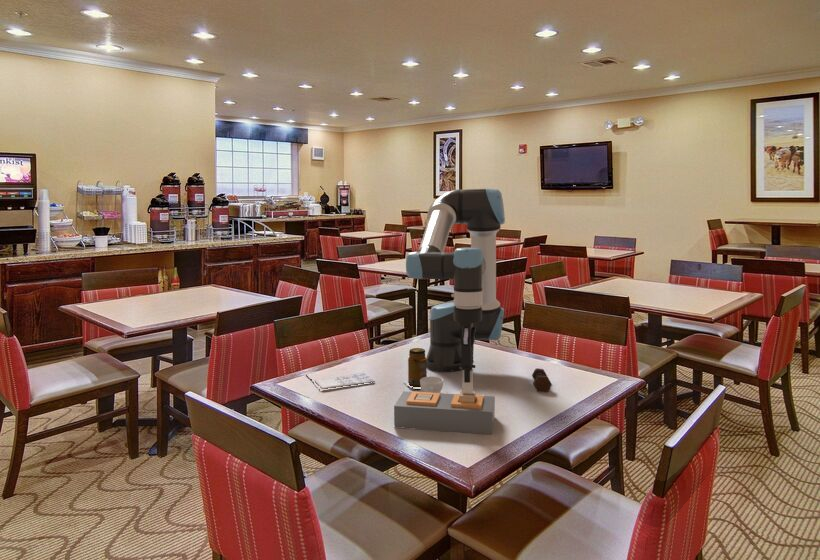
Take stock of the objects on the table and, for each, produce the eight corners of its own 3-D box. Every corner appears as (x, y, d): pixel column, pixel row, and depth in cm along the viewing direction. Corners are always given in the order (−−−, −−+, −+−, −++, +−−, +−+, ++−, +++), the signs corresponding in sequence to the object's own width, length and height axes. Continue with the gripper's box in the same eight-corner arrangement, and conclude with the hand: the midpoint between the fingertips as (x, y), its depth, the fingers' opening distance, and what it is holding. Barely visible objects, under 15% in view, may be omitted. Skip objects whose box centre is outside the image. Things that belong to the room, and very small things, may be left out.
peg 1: (418, 416, 155) (417, 394, 154) (432, 417, 154) (432, 394, 153) (415, 422, 151) (415, 399, 150) (429, 423, 150) (429, 399, 149)
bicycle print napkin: (320, 393, 177) (319, 387, 177) (305, 376, 195) (304, 370, 195) (375, 385, 185) (375, 379, 184) (356, 369, 203) (356, 363, 203)
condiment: (423, 380, 187) (423, 346, 186) (433, 388, 180) (432, 352, 178) (403, 383, 185) (402, 348, 183) (412, 391, 177) (411, 354, 176)
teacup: (416, 389, 179) (415, 375, 179) (446, 389, 179) (446, 375, 178) (415, 400, 169) (415, 385, 169) (448, 399, 169) (448, 385, 169)
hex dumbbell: (540, 383, 190) (544, 396, 175) (527, 375, 190) (530, 388, 175) (549, 369, 189) (554, 381, 174) (536, 361, 189) (540, 373, 174)
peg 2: (460, 413, 152) (460, 390, 151) (475, 414, 151) (475, 391, 150) (459, 419, 148) (459, 395, 147) (474, 420, 147) (474, 396, 147)
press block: (403, 411, 160) (403, 388, 159) (494, 417, 154) (494, 393, 154) (394, 427, 148) (394, 403, 147) (492, 434, 143) (492, 409, 142)
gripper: (456, 301, 153) (456, 384, 156) (450, 310, 140) (450, 400, 143) (483, 302, 151) (483, 385, 154) (480, 311, 139) (479, 401, 142)
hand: (467, 392), depth 149 cm, fingers closed
